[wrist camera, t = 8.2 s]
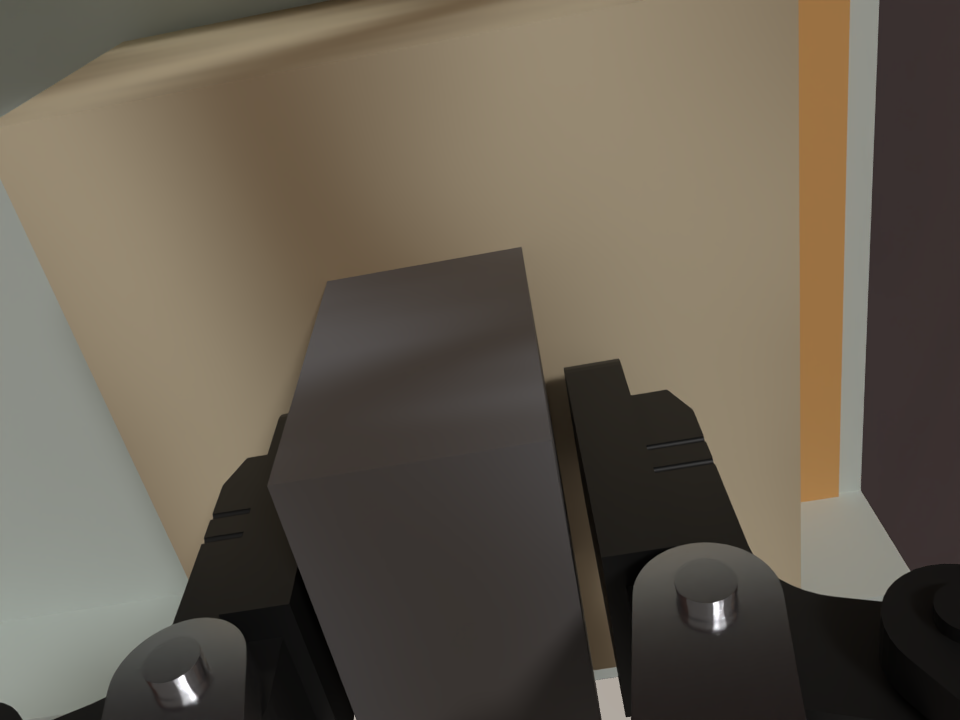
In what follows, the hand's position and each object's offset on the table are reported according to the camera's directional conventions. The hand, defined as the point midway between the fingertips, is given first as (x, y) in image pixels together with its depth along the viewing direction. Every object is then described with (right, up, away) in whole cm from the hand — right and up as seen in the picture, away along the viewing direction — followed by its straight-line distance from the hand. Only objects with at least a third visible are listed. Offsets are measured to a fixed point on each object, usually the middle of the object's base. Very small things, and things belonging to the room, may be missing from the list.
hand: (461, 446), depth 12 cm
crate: (0, +3, +5) cm, 5 cm away
